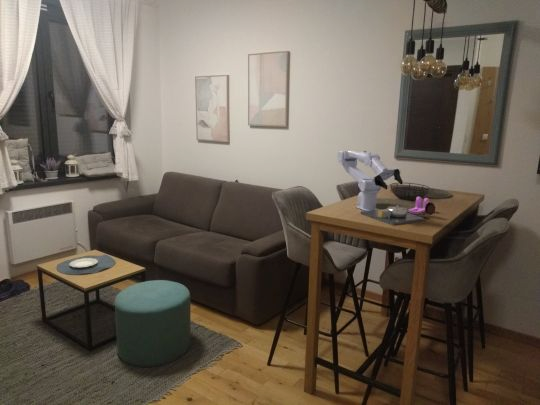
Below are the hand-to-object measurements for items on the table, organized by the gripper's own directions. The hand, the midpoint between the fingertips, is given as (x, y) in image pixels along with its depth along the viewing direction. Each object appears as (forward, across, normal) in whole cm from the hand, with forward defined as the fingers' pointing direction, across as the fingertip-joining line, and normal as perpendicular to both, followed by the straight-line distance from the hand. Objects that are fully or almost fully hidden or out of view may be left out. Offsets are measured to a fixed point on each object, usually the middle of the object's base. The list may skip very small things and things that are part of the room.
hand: (394, 185), depth 190 cm
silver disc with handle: (+5, -4, +13) cm, 15 cm away
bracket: (-3, +15, +26) cm, 30 cm away
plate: (+4, -3, +16) cm, 17 cm away
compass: (+8, +13, +20) cm, 25 cm away
